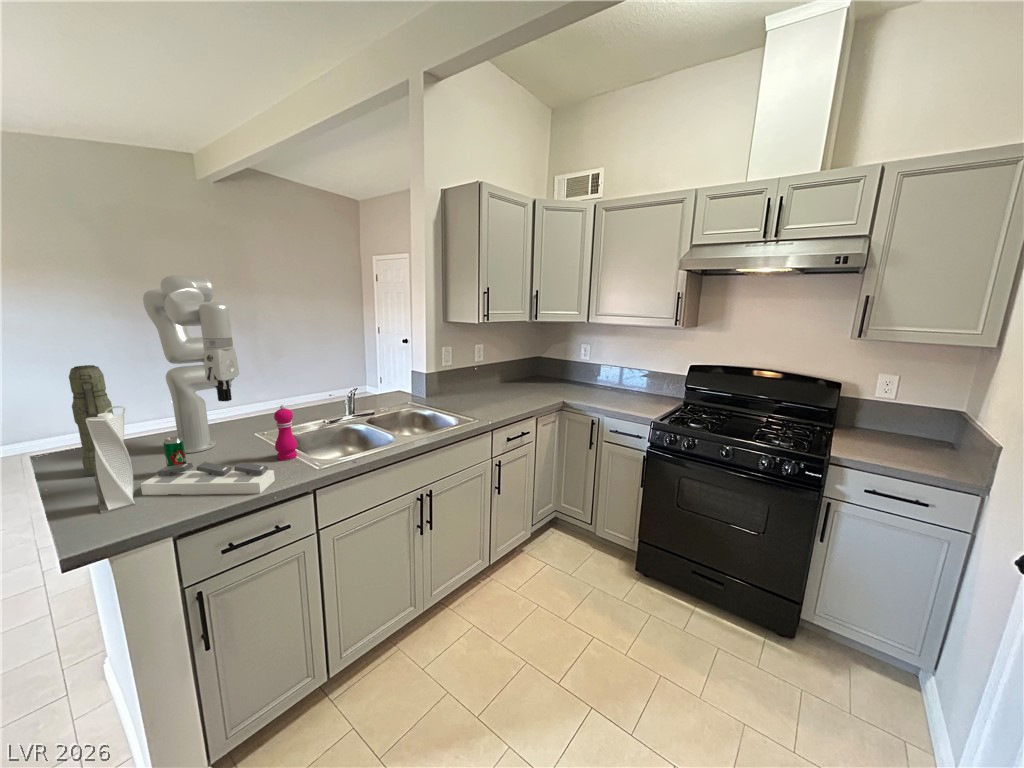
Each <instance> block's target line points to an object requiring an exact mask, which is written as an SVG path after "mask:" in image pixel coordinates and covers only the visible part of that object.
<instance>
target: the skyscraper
mask: <svg viewBox="0 0 1024 768" xmlns="http://www.w3.org/2000/svg"><path fill="white" fill-rule="evenodd" d="M119 408H120V409H121V408H122V409H123V410H122V414H113V415H112V413H107V411H108V410H110V409H112V410H113V409H119ZM125 413H126V407H125V406H122V405H116V406H115V405H112V407H110V408H108V409H107V410H106V411H105V412H104V413H102V414H98V417H89V418H86V423H87V426H88V429H89V432H90V435H91V438H92V441H93V443H94V446H95V461H96V462H94V464H95V468H94V470H95V474H96V476H94V477H93V479H94V482H95V485H96V487H95V488H96V492H95V493H96V495H97V501H98V502H97V505H98V509H99V514H100V515H102V514H105V513H109V511H110V512H114V511H117V510H121V509H124V508H129V507H131V506H136V505H135V504H136V501H135V499H134V472H133V466H132V461H131V460H132V459H131V457H130V454H129V451H128V449H127V447H126V445H125V443H124V439H125V438H124V437H125V435H124V434H125ZM128 506H129V507H128Z"/></svg>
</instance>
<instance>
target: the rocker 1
mask: <svg viewBox="0 0 1024 768" xmlns="http://www.w3.org/2000/svg"><path fill="white" fill-rule="evenodd" d="M193 467H194V464H193V462H189V463H187V464H181V465H175V466H168V467H167V466H164V467H162V468H160V469H159V470H158V471H156V475H157V474H158V476H162V475H168V474H170V475H174V474H176V473H180V472H185V471H190V470H191V469H192V468H193Z"/></svg>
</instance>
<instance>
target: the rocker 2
mask: <svg viewBox="0 0 1024 768" xmlns="http://www.w3.org/2000/svg"><path fill="white" fill-rule="evenodd" d="M267 470H269V466H268V465H263V464H255V463H250V462H249V463H248V462H240V463H237V465H236V466H234V469H233V471H237V472H244V473H246V474H247V475H249V474H250V473H251V474H257V475H262V474H264V473H265V472H266V471H267Z"/></svg>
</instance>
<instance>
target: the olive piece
mask: <svg viewBox="0 0 1024 768" xmlns="http://www.w3.org/2000/svg"><path fill="white" fill-rule="evenodd" d="M68 379H69V386H70V389H71V391H70V392H71V393H72V395H73V396H72V403H71V409H72V414H73V420H74V423H75V424H76V425H77V429H78V433H79V439H80V443H81V448H82V456H81V461H82V462H81V463H82V466H83V468H84V470H85V475H88V476H87V477H96V474H95V470H94V468H95V464H94V462H96V461H95V446H94V443H93V441H92V438H91V435H90V432H89V429H88V426H87V423H86V418H89V417H98V414H102V413H104V412H105V411H106V410H107V409H108V408H110V407H113V405H112V401H111V399H110V398H109V397H108V393H107V392H106V390H107V387H106V382H105V381H106V380H105V375H104V372H102V369H100V367H99V366H96V365H93V364H90V365H85V364H84V365H78V366H77V365H76V366H74V367H71V368H70V371H69V374H68ZM107 413H112V415H114V410H113V409H110V410H108V411H107Z"/></svg>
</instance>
